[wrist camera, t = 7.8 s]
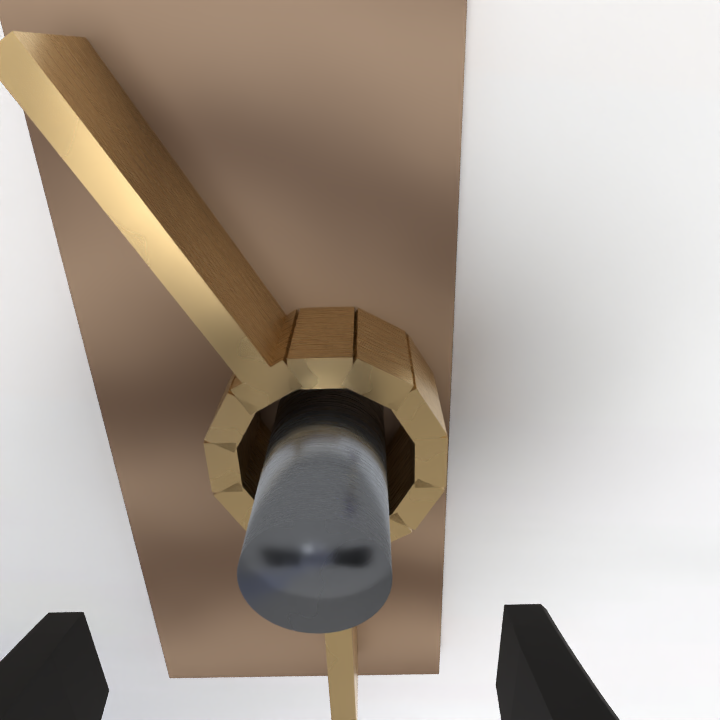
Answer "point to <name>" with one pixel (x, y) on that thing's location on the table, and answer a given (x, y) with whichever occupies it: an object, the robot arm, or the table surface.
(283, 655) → the board
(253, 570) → the pin
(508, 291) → the table surface
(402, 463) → the hinge
